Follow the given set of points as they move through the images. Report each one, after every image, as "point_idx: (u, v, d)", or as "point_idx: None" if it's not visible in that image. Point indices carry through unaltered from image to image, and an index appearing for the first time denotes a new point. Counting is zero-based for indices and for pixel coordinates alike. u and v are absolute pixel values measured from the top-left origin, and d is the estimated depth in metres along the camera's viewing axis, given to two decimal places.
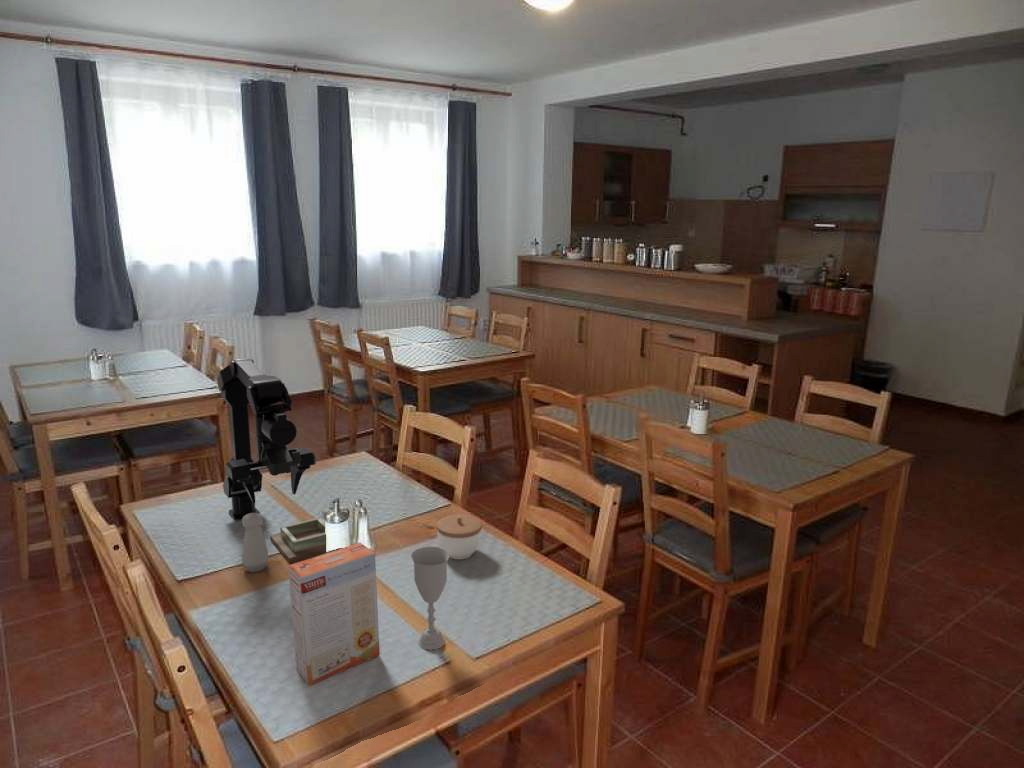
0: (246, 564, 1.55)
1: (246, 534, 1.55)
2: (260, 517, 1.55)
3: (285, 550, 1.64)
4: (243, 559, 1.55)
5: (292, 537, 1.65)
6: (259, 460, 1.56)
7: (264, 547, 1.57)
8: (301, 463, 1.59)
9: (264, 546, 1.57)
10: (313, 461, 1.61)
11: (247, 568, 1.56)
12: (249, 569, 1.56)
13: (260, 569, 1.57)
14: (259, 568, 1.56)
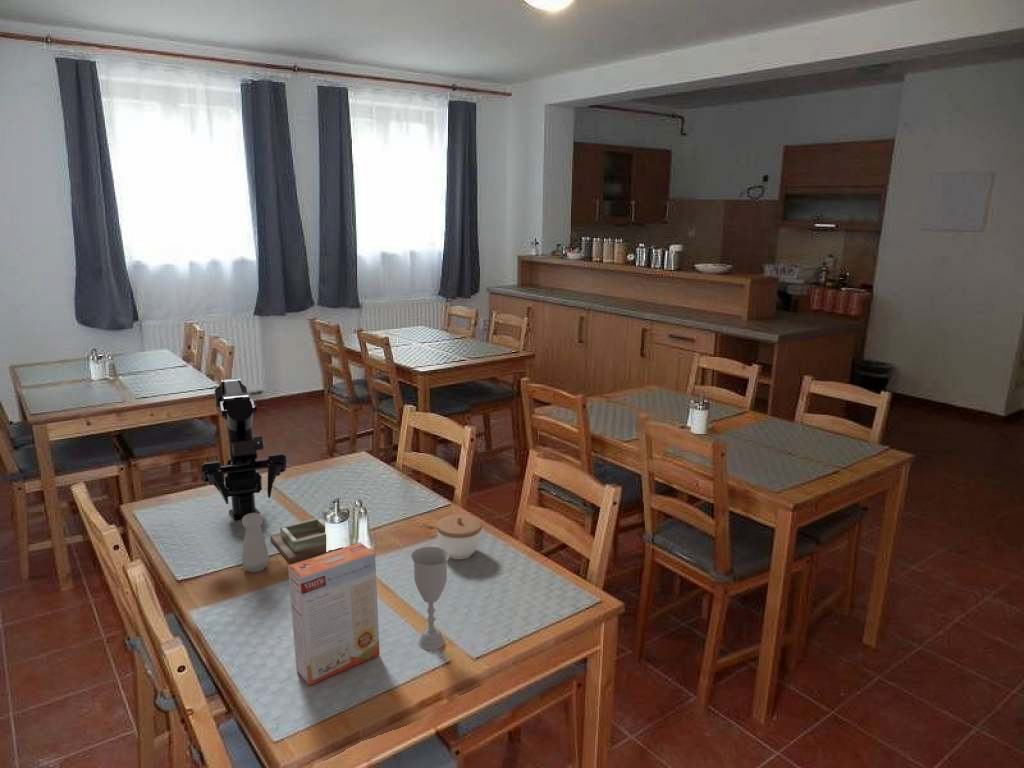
0: (246, 564, 1.55)
1: (246, 534, 1.55)
2: (260, 517, 1.55)
3: (285, 550, 1.64)
4: (243, 559, 1.55)
5: (292, 537, 1.65)
6: (231, 462, 1.65)
7: (264, 547, 1.57)
8: (270, 459, 1.65)
9: (264, 546, 1.57)
10: (283, 458, 1.67)
11: (247, 568, 1.56)
12: (249, 569, 1.56)
13: (260, 569, 1.57)
14: (259, 568, 1.56)
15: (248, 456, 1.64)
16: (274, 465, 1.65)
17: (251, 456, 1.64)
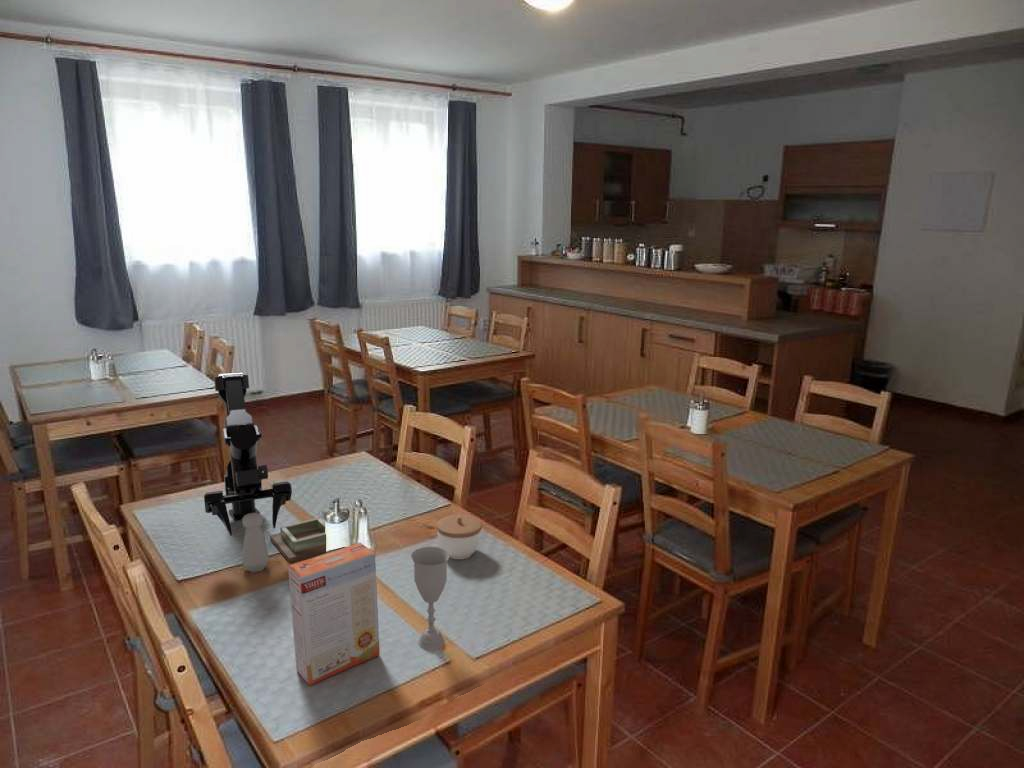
0: (246, 564, 1.55)
1: (246, 534, 1.55)
2: (260, 517, 1.55)
3: (285, 550, 1.64)
4: (243, 559, 1.55)
5: (292, 537, 1.65)
6: (235, 492, 1.59)
7: (264, 547, 1.57)
8: (275, 488, 1.60)
9: (264, 546, 1.57)
10: (288, 487, 1.61)
11: (247, 568, 1.56)
12: (249, 569, 1.56)
13: (260, 569, 1.57)
14: (259, 568, 1.56)
15: (252, 485, 1.59)
16: (279, 494, 1.60)
17: (255, 485, 1.59)
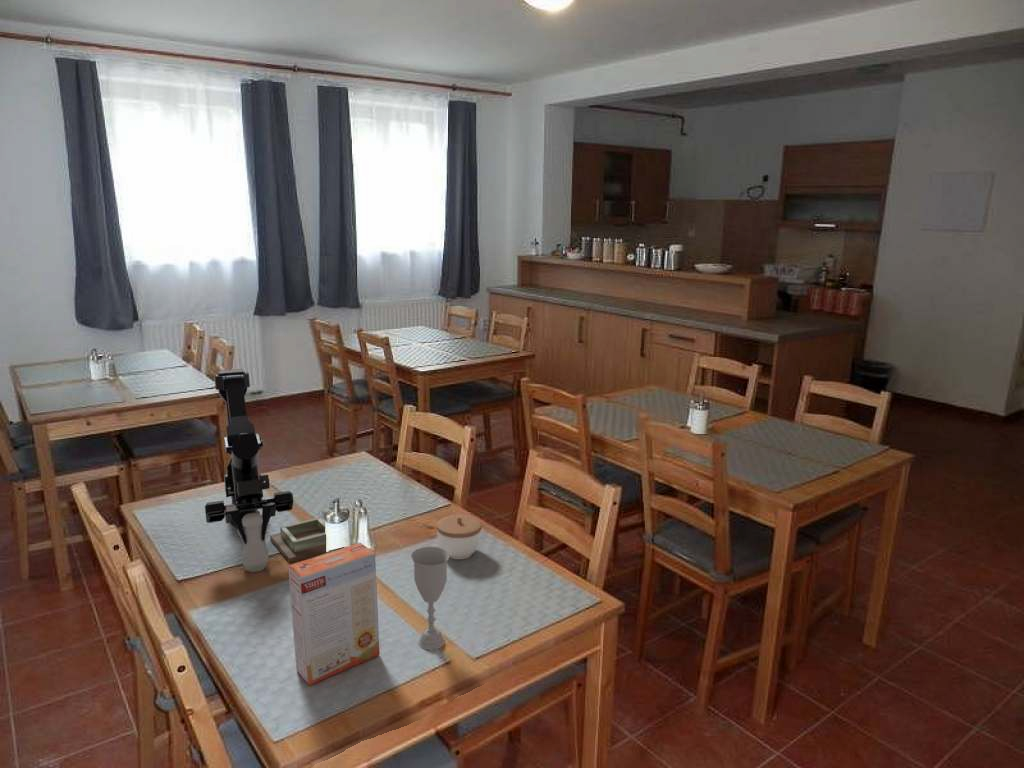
0: (246, 564, 1.55)
1: (246, 534, 1.55)
2: (260, 517, 1.55)
3: (285, 550, 1.64)
4: (243, 559, 1.55)
5: (292, 537, 1.65)
6: (236, 502, 1.58)
7: (264, 547, 1.57)
8: (277, 498, 1.59)
9: (264, 546, 1.57)
10: (290, 497, 1.60)
11: (247, 568, 1.56)
12: (249, 569, 1.56)
13: (260, 569, 1.57)
14: (259, 568, 1.56)
15: (254, 495, 1.58)
16: (268, 506, 1.57)
17: (257, 495, 1.58)
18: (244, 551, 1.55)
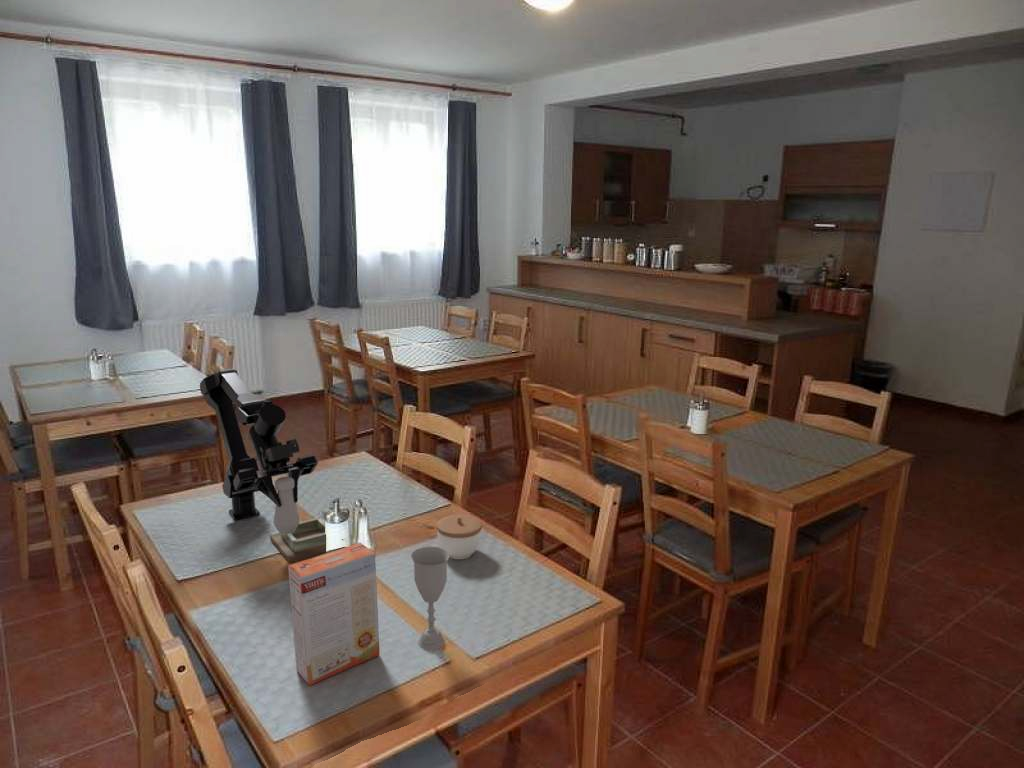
0: (281, 526, 1.60)
1: (280, 497, 1.59)
2: (293, 480, 1.60)
3: (285, 550, 1.64)
4: (277, 522, 1.60)
5: (292, 537, 1.65)
6: (263, 468, 1.62)
7: (296, 509, 1.62)
8: (303, 461, 1.65)
9: (296, 508, 1.62)
10: (315, 459, 1.67)
11: (281, 531, 1.61)
12: (283, 531, 1.61)
13: (293, 530, 1.62)
14: (293, 529, 1.62)
15: (281, 460, 1.62)
16: (297, 469, 1.63)
17: (284, 460, 1.63)
18: (278, 514, 1.60)
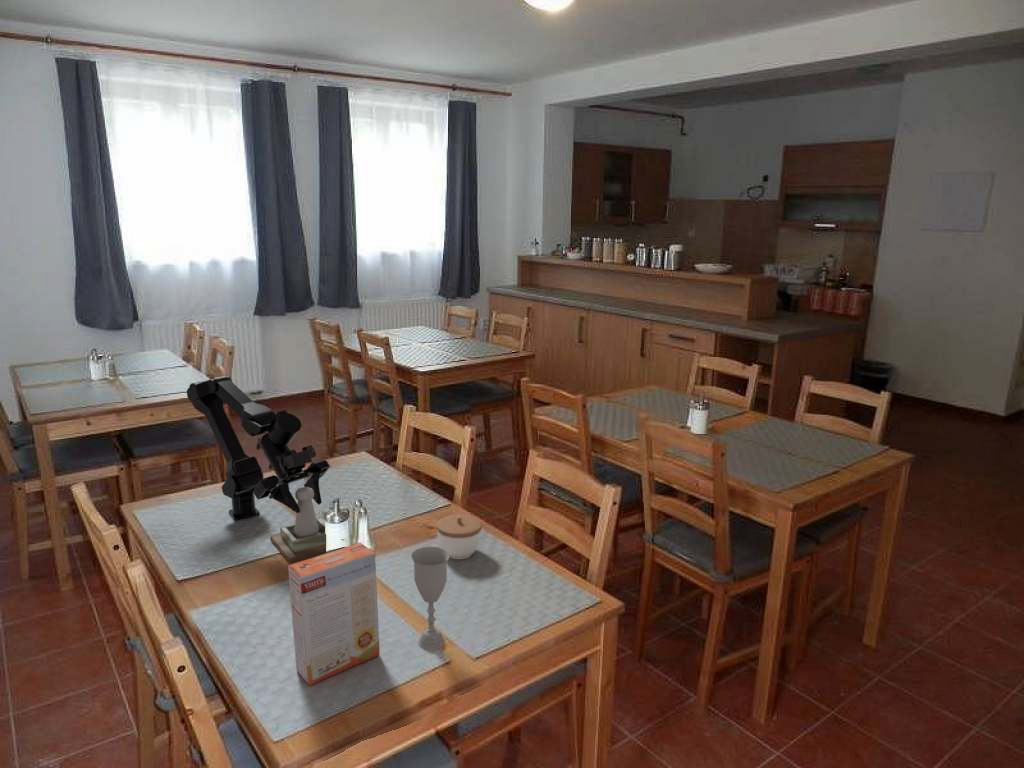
0: (304, 535, 1.66)
1: (301, 507, 1.66)
2: (312, 489, 1.67)
3: (285, 550, 1.64)
4: (300, 531, 1.66)
5: (292, 537, 1.65)
6: (281, 475, 1.67)
7: (315, 517, 1.69)
8: (318, 466, 1.72)
9: (315, 516, 1.69)
10: (327, 463, 1.74)
11: None
12: None
13: None
14: None
15: (298, 466, 1.68)
16: (318, 473, 1.71)
17: (300, 466, 1.69)
18: (300, 524, 1.66)
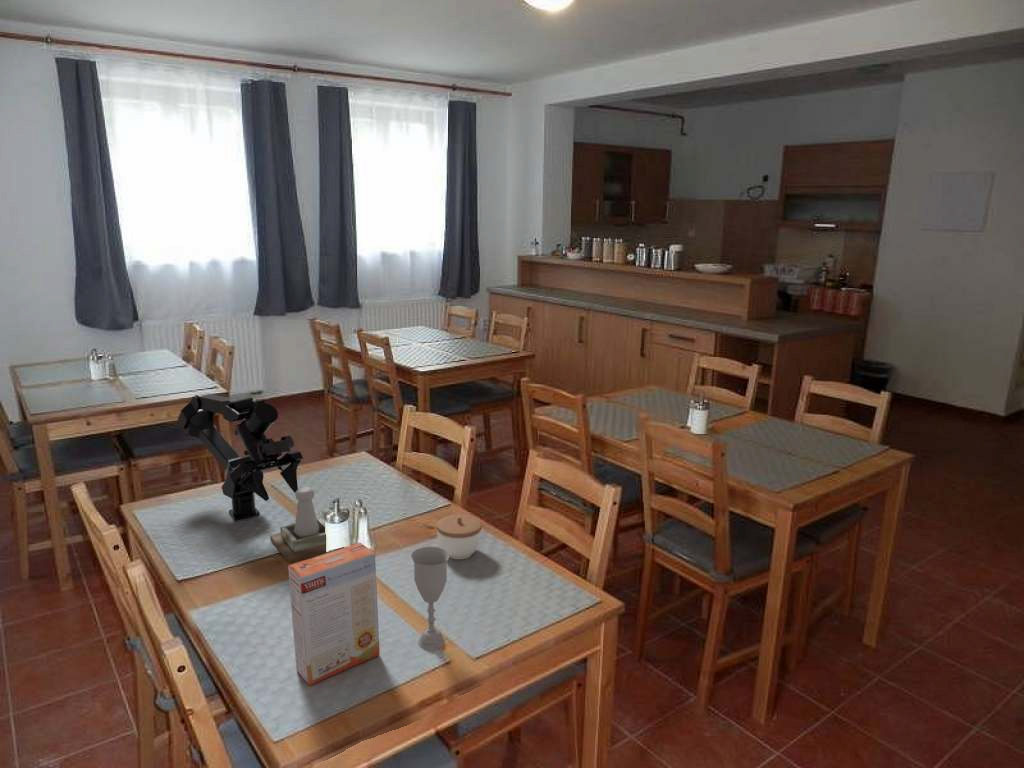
0: (304, 535, 1.67)
1: (302, 507, 1.66)
2: (312, 489, 1.68)
3: (285, 550, 1.64)
4: (300, 531, 1.66)
5: (292, 537, 1.65)
6: (257, 462, 1.72)
7: None
8: (293, 457, 1.78)
9: (315, 516, 1.69)
10: (301, 455, 1.80)
11: None
12: None
13: None
14: None
15: (275, 455, 1.74)
16: (297, 462, 1.78)
17: (277, 455, 1.74)
18: (301, 523, 1.66)
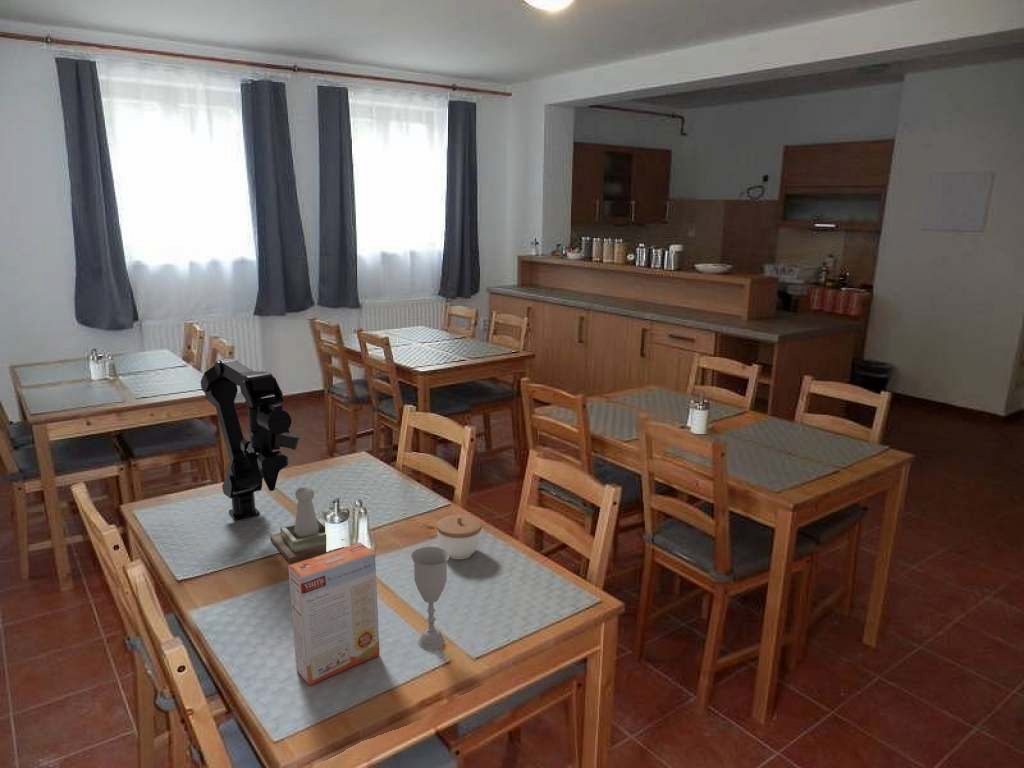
0: (304, 535, 1.67)
1: (302, 507, 1.66)
2: (312, 489, 1.68)
3: (285, 550, 1.64)
4: (300, 531, 1.66)
5: (292, 537, 1.65)
6: (268, 449, 1.68)
7: None
8: None
9: (315, 516, 1.69)
10: None
11: None
12: None
13: None
14: None
15: None
16: None
17: None
18: (301, 523, 1.66)
